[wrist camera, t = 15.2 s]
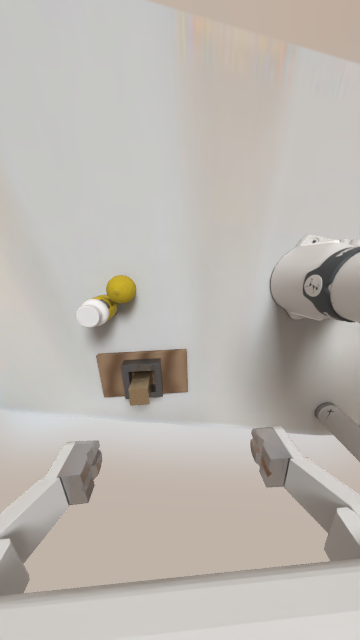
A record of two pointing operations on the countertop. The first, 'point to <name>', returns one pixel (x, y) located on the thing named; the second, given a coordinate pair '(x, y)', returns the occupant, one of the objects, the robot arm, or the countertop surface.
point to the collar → (143, 365)
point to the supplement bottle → (96, 311)
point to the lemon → (121, 289)
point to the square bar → (141, 388)
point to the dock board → (171, 371)
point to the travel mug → (340, 427)
